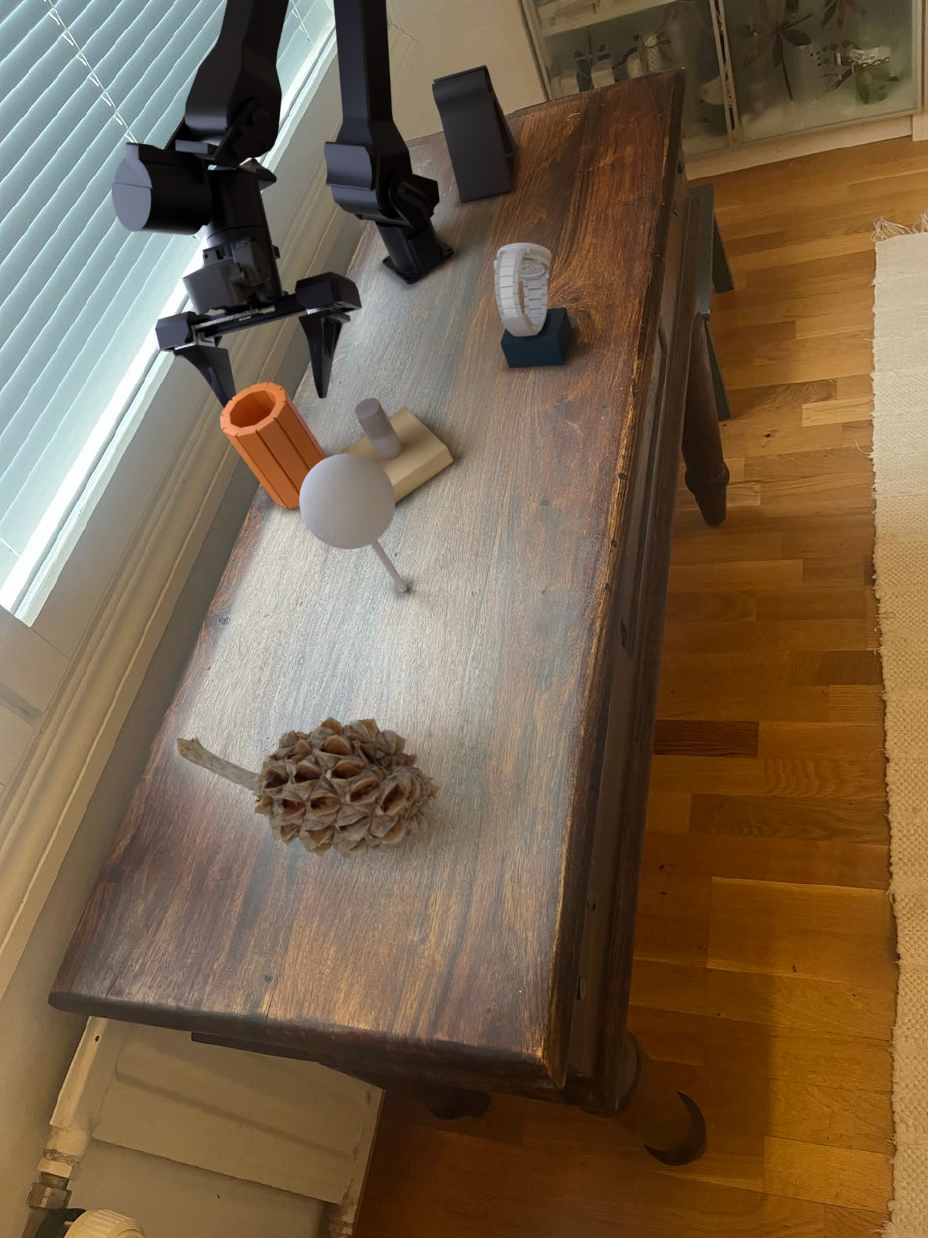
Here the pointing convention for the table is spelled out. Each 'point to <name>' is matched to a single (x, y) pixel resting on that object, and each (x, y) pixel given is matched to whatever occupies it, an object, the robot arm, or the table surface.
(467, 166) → the phone stand
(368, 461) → the lollipop
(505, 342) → the watch
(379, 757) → the pine cone
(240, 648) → the table surface
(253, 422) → the orange fluted tube
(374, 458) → the peg on block
